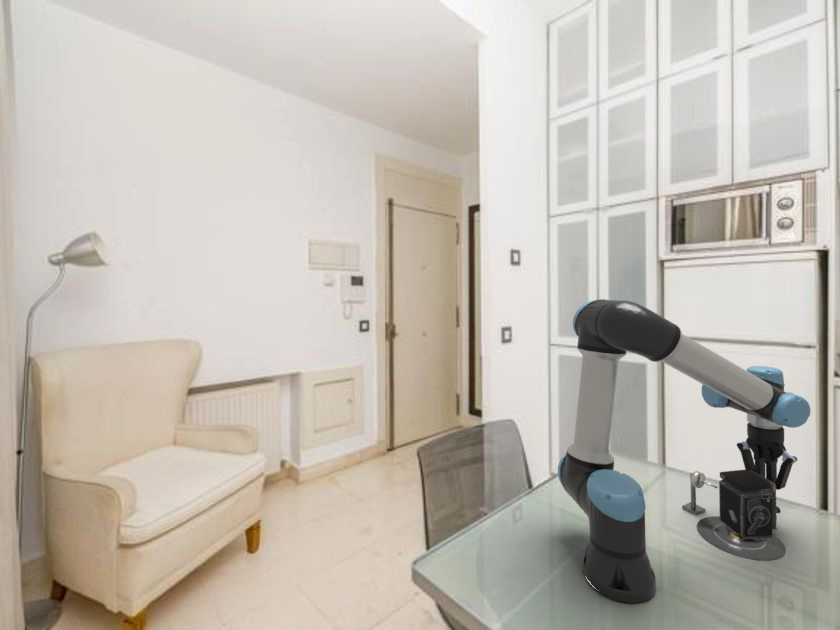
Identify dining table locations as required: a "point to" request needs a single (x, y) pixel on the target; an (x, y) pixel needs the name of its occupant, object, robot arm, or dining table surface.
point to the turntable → (739, 541)
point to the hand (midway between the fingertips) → (766, 509)
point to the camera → (748, 503)
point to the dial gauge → (698, 482)
